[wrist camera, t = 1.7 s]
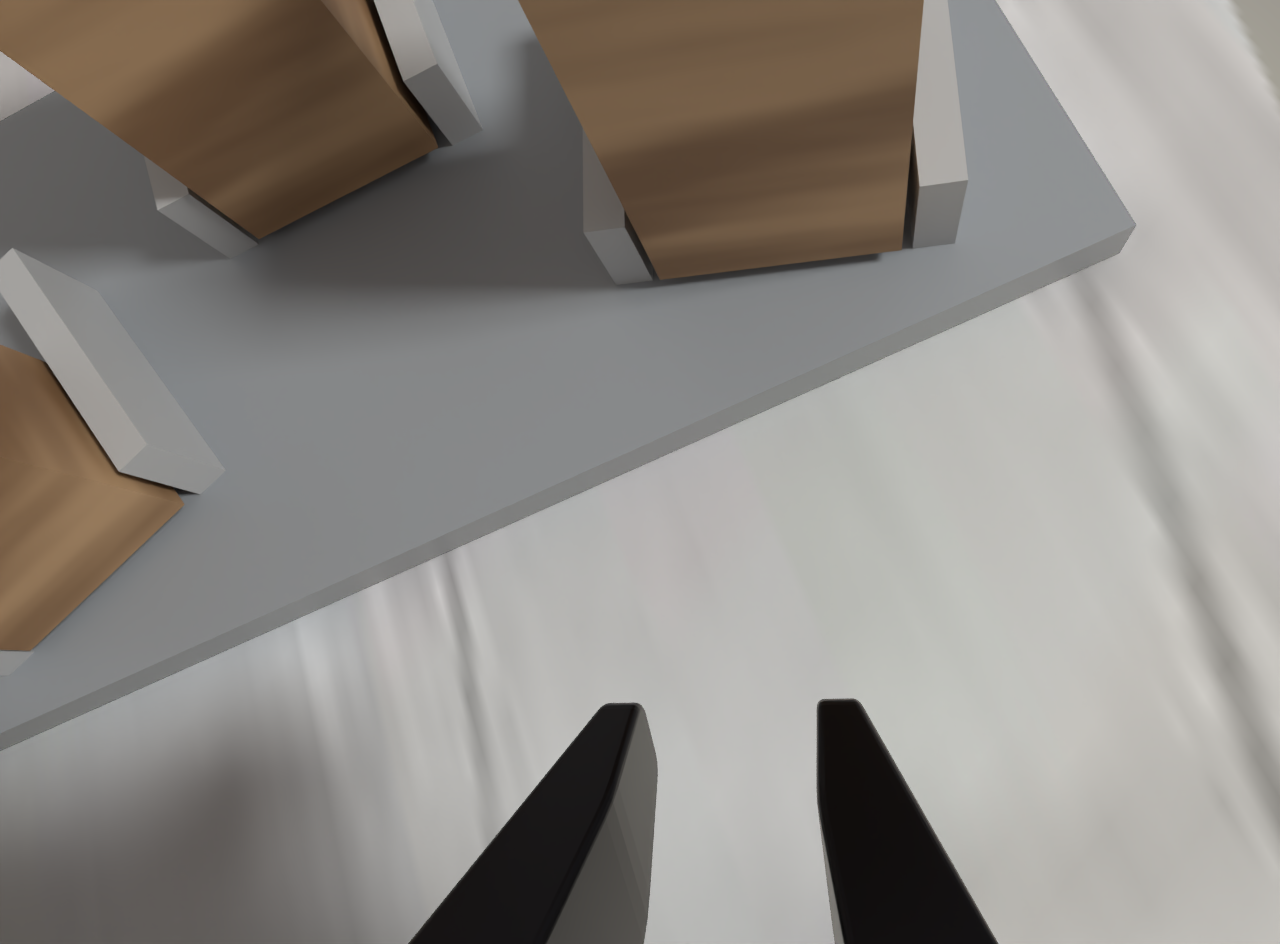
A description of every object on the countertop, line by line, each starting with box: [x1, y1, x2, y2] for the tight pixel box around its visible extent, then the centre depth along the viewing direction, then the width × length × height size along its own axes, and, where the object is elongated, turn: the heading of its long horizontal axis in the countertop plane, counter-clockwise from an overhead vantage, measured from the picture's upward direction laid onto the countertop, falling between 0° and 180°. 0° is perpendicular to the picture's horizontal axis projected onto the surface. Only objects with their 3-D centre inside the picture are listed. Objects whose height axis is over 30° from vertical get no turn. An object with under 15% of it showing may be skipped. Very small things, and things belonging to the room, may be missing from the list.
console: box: [0, 0, 1136, 751], centre depth 26 cm, size 20×36×4 cm, turn 111°
